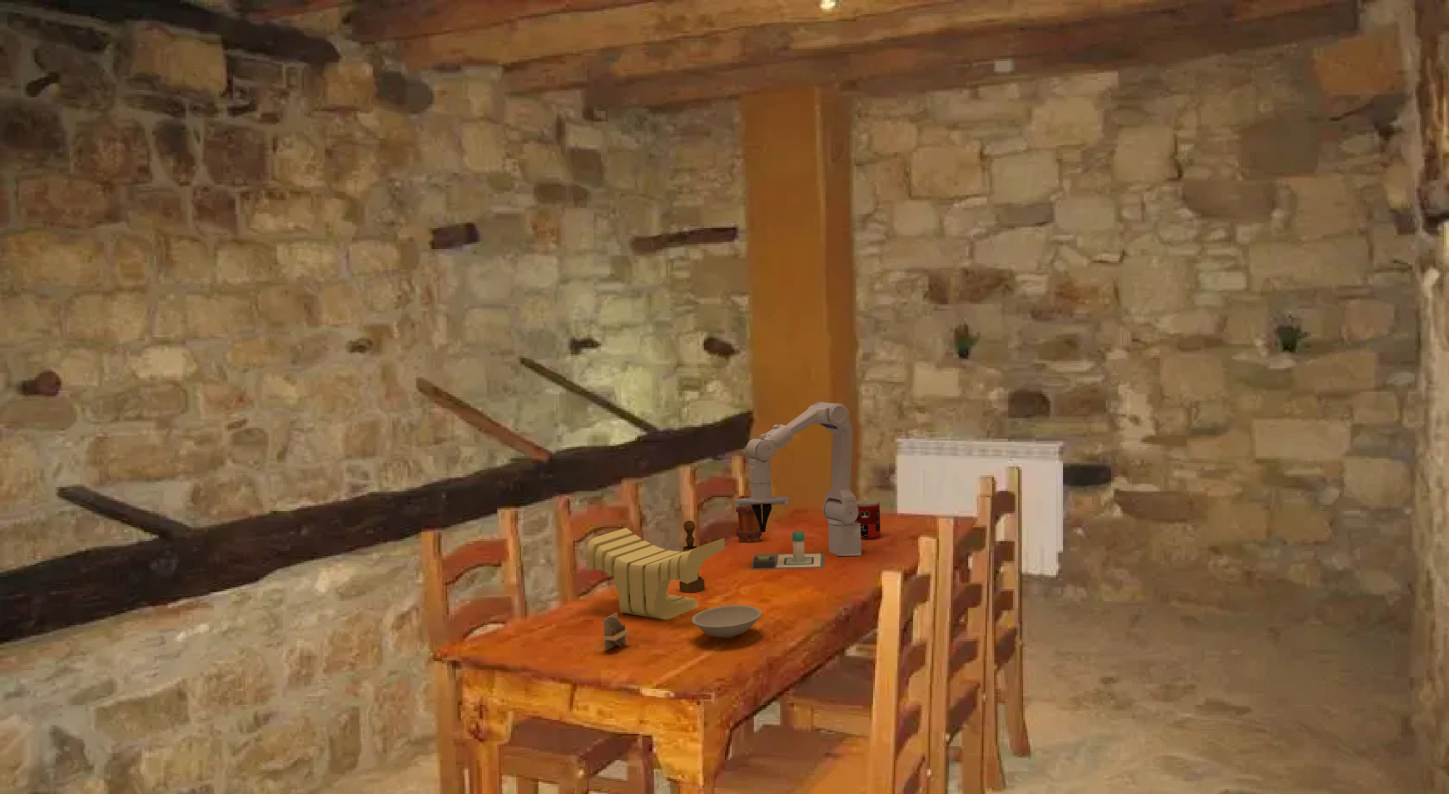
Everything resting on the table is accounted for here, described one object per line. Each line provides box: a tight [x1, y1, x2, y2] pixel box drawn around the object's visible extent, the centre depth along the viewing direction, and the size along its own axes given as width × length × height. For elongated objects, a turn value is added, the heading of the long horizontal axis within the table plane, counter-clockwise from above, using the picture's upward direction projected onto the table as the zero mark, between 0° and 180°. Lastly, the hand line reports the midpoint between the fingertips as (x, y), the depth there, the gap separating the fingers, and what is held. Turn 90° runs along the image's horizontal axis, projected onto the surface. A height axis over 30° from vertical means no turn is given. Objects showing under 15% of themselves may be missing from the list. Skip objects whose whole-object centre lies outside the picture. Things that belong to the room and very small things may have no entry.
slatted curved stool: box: [585, 527, 726, 620], centre depth 277 cm, size 30×16×18 cm, turn 56°
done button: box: [758, 556, 770, 561], centre depth 316 cm, size 3×3×2 cm
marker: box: [791, 530, 806, 562], centre depth 319 cm, size 3×3×8 cm
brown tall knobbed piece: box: [678, 520, 705, 594], centre depth 296 cm, size 7×6×18 cm
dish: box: [691, 604, 762, 639], centre depth 254 cm, size 18×14×5 cm
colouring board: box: [750, 552, 825, 571], centre depth 320 cm, size 20×18×3 cm
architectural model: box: [602, 612, 632, 651], centre depth 249 cm, size 3×7×7 cm, turn 154°
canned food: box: [855, 499, 881, 541], centre depth 350 cm, size 8×8×11 cm
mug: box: [735, 489, 763, 544], centre depth 352 cm, size 15×8×15 cm, turn 179°
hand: (762, 531), depth 315 cm, fingers closed
